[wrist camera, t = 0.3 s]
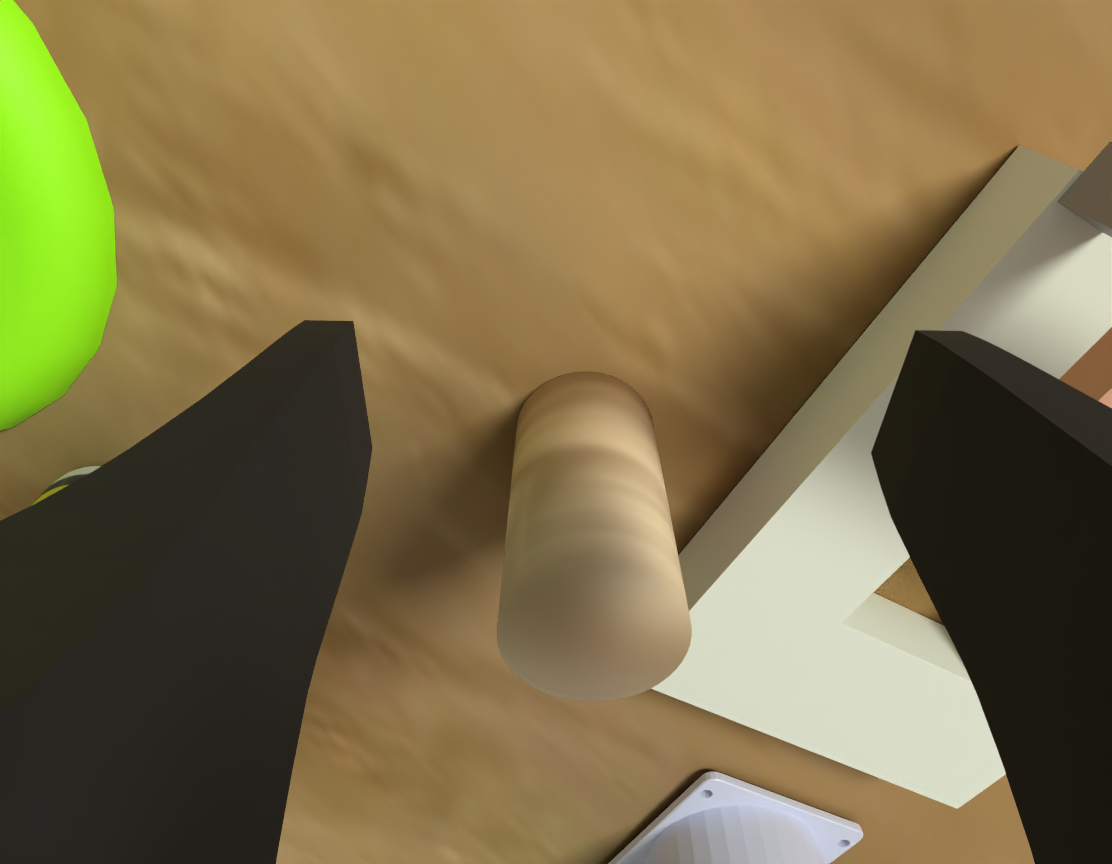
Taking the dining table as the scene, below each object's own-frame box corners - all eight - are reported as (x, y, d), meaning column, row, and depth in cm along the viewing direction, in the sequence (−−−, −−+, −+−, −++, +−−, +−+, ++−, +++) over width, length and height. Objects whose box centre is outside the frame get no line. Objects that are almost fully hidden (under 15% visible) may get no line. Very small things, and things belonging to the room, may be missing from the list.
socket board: (929, 748, 30) (957, 808, 28) (622, 622, 27) (628, 679, 25) (1379, 395, 22) (1468, 443, 20) (1020, 144, 18) (1079, 170, 16)
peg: (607, 506, 24) (626, 723, 17) (493, 454, 23) (464, 663, 16) (679, 409, 22) (731, 609, 15) (557, 348, 21) (556, 533, 14)
